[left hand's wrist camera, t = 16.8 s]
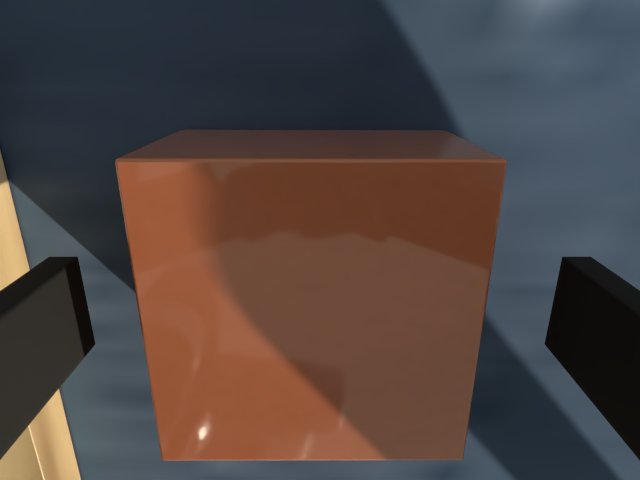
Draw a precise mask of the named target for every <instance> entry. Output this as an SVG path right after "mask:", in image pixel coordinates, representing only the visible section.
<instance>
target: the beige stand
mask: <svg viewBox="0 0 640 480" xmlns="http://www.w3.org/2000/svg"><path fill="white" fill-rule="evenodd" d="M28 271H30V269H29V265H28V261H27V257H26V253H25V249H24V244H23V240H22V236H21V232H20V228H19V224H18V220H17V216H16V212H15V208H14V204H13V199H12V195H11V191H10V187H9V183H8V179H7V175H6V171H5V167H4V163H3V158H2V154H1V150H0V291H1V290H2V289H4V288H5V287H7V286H8V285H9V284H11V283H12V282H14V281H15V280H17V279H18V278H20V277H21V276H22V275H24V274H25V273H27V272H28ZM0 480H81V478H80V474H79V470H78V465H77V461H76V457H75V453H74V449H73V445H72V441H71V437H70V433H69V429H68V425H67V420H66V416H65V412H64V408H63V404H62V400H61V396H60V392H59V389H58V390H57V391H56V393H55V394H54V395H53V396H52V398H51V399H50V400H49V401H48V402H47V404H46V405H45V406H44V407H43V409H42V410H41V411H40V412H39V413H38V415H37V416H36V417H35V418H34V420H33V421H32V422H31V423H30V424H29V426H28V427H27V428H26V429H25V431H24V432H23V433H22V434H21V435H20V437H19V438H18V439H17V440H16V442H15V443H14V444H13V445H12V446H11V448H10V449H9V450H8V451H7V453H6V454H5V455H4V456H3V457H2V459H1V460H0Z"/></svg>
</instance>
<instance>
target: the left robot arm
mask: <svg viewBox="0 0 640 480" xmlns="http://www.w3.org/2000/svg"><path fill="white" fill-rule="evenodd" d="M94 345H95V340H94V335H93V330H92V326H91V321H90V316H89V311H88V306H87V301H86V296H85V291H84V286H83V281H82V276H81V271H80V266H79V262H78V257H48V258H47V259H46V260H44V261H43V262H41V263H40V264H38V265H37V266H35V267H34V268H33V269H31V270H30V271H28V272H27V273H25V274H24V275H22V276H21V277H20V278H18V279H17V280H15V281H14V282H12V283H11V284H9V285H8V286H7V287H5V288H4V289H2V290H1V291H0V460H1V459H2V457H3V456H4V455H5V454H6V453H7V451H8V450H9V449H10V448H11V446H12V445H13V444H14V443H15V442H16V440H17V439H18V438H19V437H20V435H21V434H22V433H23V432H24V431H25V429H26V428H27V427H28V426H29V424H30V423H31V422H32V421H33V420H34V418H35V417H36V416H37V415H38V413H39V412H40V411H41V410H42V409H43V407H44V406H45V405H46V404H47V402H48V401H49V400H50V399H51V398H52V396H53V395H54V394H55V393H56V391H57V390H58V389H59V388H60V387H61V385H62V384H63V383H64V382H65V380H66V379H67V378H68V377H69V376H70V374H71V373H72V372H73V371H74V369H75V368H76V367H77V366H78V365H79V363H80V362H81V361H82V360H83V358H84V357H85V356H86V355H87V354H88V352H89V351H90V350H91V349H92V347H93V346H94ZM545 345H546V346H547V347H548V349H549V350H550V351H551V352H552V354H553V355H554V356H555V357H556V358H557V360H558V361H559V362H560V363H561V365H562V366H563V367H564V368H565V369H566V371H567V372H568V373H569V374H570V376H571V377H572V378H573V379H574V380H575V382H576V383H577V384H578V385H579V387H580V388H581V389H582V390H583V391H584V393H585V394H586V395H587V396H588V398H589V399H590V400H591V401H592V402H593V404H594V405H595V406H596V407H597V409H598V410H599V411H600V412H601V413H602V415H603V416H604V417H605V418H606V420H607V421H608V422H609V423H610V424H611V426H612V427H613V428H614V429H615V431H616V432H617V433H618V434H619V435H620V437H621V438H622V439H623V440H624V442H625V443H626V444H627V445H628V446H629V448H630V449H631V450H632V451H633V453H634V454H635V455H636V456H637V457H638V459H639V460H640V291H639V290H638V289H636V288H635V287H633V286H632V285H631V284H629V283H628V282H626V281H625V280H623V279H622V278H620V277H619V276H618V275H616V274H615V273H613V272H612V271H610V270H609V269H607V268H606V267H605V266H603V265H602V264H600V263H599V262H597V261H596V260H594V259H593V258H592V257H562V262H561V266H560V271H559V276H558V281H557V286H556V291H555V296H554V301H553V306H552V311H551V316H550V321H549V326H548V330H547V335H546V340H545Z"/></svg>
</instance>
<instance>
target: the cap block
mask: <svg viewBox="0 0 640 480" xmlns="http://www.w3.org/2000/svg"><path fill="white" fill-rule="evenodd" d="M115 164H116V171H117V177H118V183H119V190H120V196H121V202H122V209H123V215H124V222H125V228H126V234H127V241H128V247H129V253H130V260H131V266H132V273H133V279H134V285H135V292H136V298H137V304H138V311H139V317H140V324H141V330H142V336H143V343H144V349H145V355H146V362H147V368H148V375H149V381H150V387H151V394H152V400H153V406H154V413H155V419H156V426H157V432H158V438H159V445H160V451H161V457H162V460H462V459H463V455H464V449H465V442H466V435H467V429H468V422H469V415H470V408H471V402H472V395H473V388H474V381H475V375H476V368H477V361H478V354H479V348H480V341H481V334H482V327H483V321H484V314H485V307H486V300H487V294H488V287H489V280H490V273H491V267H492V260H493V253H494V247H495V240H496V233H497V226H498V220H499V213H500V206H501V199H502V193H503V186H504V179H505V172H506V166H507V161H506V159H503V158H501V157H499V156H497V155H495V154H493V153H491V152H489V151H487V150H485V149H483V148H481V147H479V146H477V145H474V144H472V143H470V142H468V141H466V140H464V139H462V138H460V137H458V136H456V135H454V134H452V133H450V132H448V131H445V130H180V131H178V132H175V133H173V134H171V135H169V136H167V137H164V138H162V139H160V140H158V141H155V142H153V143H151V144H149V145H146V146H144V147H142V148H140V149H137V150H135V151H133V152H131V153H129V154H126V155H124V156H122V157H120V158H117V159H116V161H115Z"/></svg>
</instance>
